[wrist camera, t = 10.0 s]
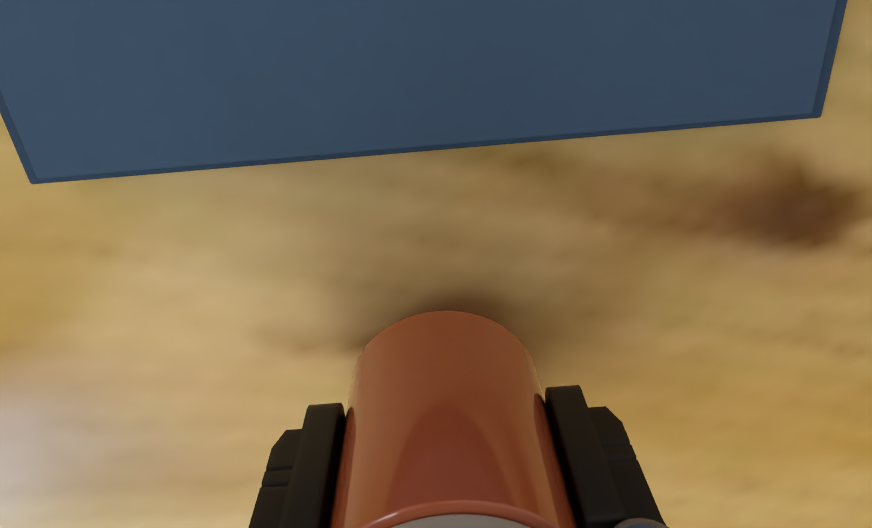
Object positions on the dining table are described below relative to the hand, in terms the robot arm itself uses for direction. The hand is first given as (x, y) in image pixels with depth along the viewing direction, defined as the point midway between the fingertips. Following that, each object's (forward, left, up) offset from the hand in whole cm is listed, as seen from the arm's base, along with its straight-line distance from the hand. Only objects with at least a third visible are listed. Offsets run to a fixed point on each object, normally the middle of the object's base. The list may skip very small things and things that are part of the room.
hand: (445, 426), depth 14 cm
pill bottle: (0, 0, -1) cm, 1 cm away
